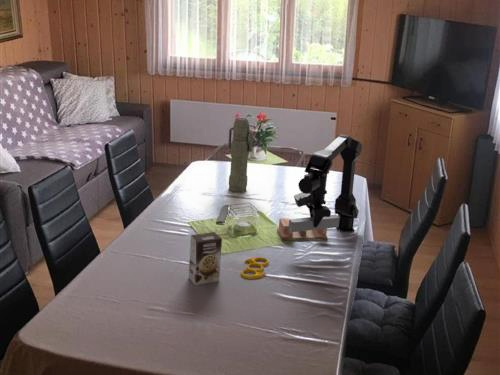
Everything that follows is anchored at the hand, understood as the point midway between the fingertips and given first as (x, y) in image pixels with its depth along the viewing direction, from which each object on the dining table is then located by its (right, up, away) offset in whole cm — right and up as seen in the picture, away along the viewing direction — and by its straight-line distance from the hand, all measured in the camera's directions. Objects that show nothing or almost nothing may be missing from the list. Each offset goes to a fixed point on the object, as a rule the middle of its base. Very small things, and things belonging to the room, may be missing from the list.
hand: (313, 225), depth 231 cm
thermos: (-30, +13, +63) cm, 71 cm away
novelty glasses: (-23, -15, -14) cm, 31 cm away
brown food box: (-40, -17, -24) cm, 50 cm away
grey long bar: (0, -1, 0) cm, 1 cm away
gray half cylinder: (-36, +2, +32) cm, 48 cm away
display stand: (-3, -5, +17) cm, 18 cm away
